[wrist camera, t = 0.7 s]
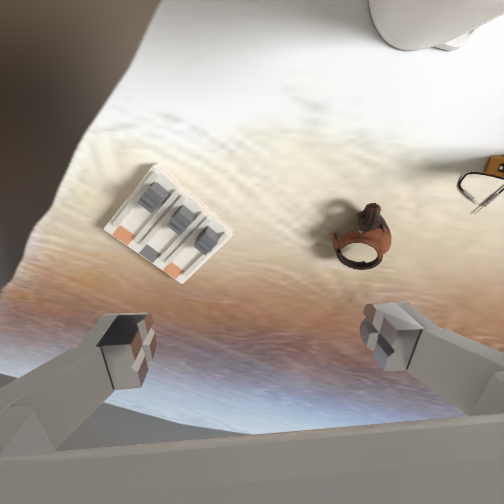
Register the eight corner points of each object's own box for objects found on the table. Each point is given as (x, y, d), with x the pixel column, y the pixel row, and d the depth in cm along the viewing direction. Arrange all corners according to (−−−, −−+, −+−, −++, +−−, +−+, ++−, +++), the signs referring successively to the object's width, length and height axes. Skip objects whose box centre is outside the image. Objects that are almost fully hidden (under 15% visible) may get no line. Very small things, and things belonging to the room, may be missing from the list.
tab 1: (156, 182, 35) (147, 187, 31) (170, 193, 36) (162, 200, 32) (145, 196, 36) (135, 203, 32) (158, 206, 36) (150, 215, 33)
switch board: (158, 163, 36) (150, 166, 33) (233, 229, 42) (232, 237, 39) (110, 223, 40) (100, 231, 37) (185, 276, 46) (181, 286, 43)
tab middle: (183, 204, 36) (177, 212, 33) (195, 215, 37) (191, 223, 34) (172, 217, 37) (165, 226, 34) (184, 227, 38) (178, 237, 35)
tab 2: (208, 225, 38) (205, 235, 35) (219, 235, 39) (217, 245, 36) (196, 237, 39) (192, 248, 36) (207, 246, 40) (204, 257, 37)
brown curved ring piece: (385, 245, 45) (385, 277, 40) (334, 240, 49) (328, 269, 44) (400, 190, 37) (402, 222, 32) (337, 189, 41) (330, 217, 36)
